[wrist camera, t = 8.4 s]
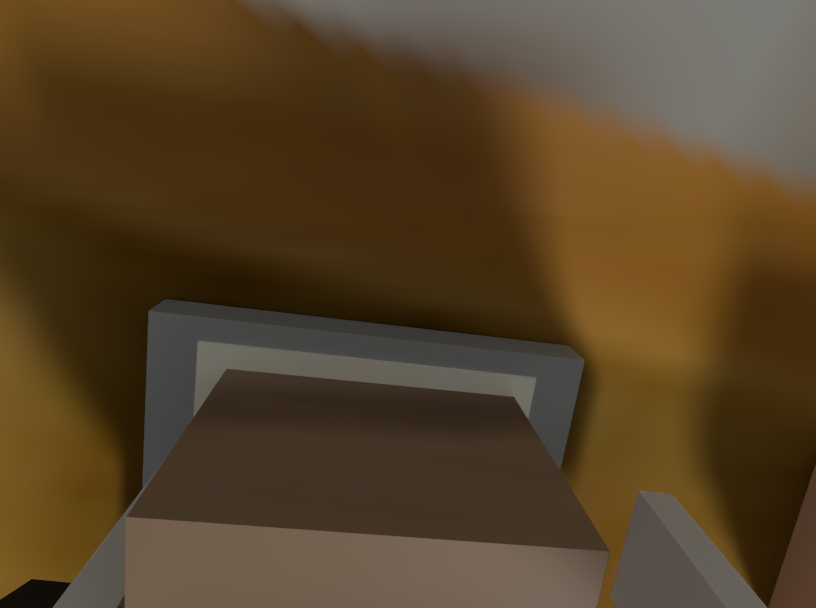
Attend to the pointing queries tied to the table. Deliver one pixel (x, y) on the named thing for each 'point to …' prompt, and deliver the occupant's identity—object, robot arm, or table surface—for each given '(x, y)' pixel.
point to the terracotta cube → (799, 559)
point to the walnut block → (359, 504)
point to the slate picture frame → (342, 365)
